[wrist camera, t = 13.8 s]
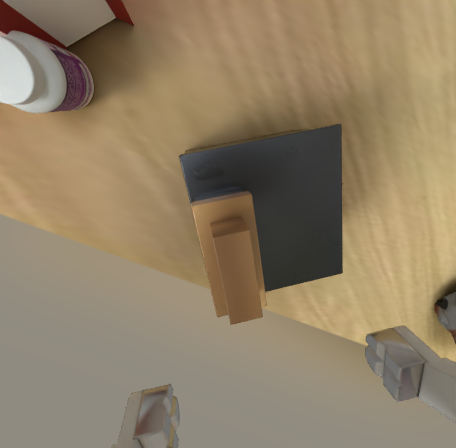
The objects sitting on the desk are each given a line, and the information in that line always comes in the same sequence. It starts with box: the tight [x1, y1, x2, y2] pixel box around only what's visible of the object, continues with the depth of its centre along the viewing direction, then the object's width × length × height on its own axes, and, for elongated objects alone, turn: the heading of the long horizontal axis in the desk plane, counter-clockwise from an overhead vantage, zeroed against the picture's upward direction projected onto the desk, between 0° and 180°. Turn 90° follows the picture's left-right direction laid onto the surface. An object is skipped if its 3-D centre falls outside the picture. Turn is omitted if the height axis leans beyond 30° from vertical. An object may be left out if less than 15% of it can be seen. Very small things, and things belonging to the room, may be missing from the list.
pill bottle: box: [0, 30, 94, 113], centre depth 20 cm, size 5×5×10 cm
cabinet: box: [179, 124, 343, 292], centre depth 26 cm, size 14×14×10 cm
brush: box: [191, 189, 267, 325], centre depth 19 cm, size 4×10×6 cm, turn 10°
